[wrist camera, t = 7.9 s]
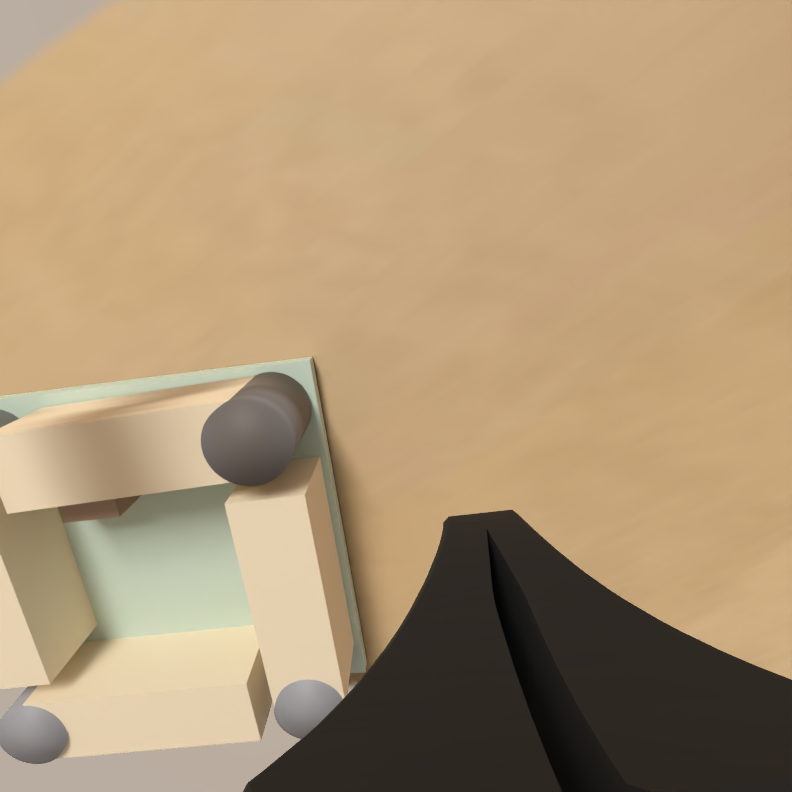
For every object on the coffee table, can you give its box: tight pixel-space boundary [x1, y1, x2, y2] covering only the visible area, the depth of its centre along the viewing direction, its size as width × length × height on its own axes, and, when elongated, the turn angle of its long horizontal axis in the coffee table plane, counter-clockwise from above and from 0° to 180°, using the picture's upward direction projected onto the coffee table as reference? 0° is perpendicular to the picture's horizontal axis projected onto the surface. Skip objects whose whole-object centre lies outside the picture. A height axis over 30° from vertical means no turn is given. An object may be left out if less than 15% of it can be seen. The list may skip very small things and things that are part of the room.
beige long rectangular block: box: [0, 372, 311, 514], centre depth 17 cm, size 9×3×3 cm, turn 99°
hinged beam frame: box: [0, 357, 367, 764], centre depth 19 cm, size 13×13×4 cm
